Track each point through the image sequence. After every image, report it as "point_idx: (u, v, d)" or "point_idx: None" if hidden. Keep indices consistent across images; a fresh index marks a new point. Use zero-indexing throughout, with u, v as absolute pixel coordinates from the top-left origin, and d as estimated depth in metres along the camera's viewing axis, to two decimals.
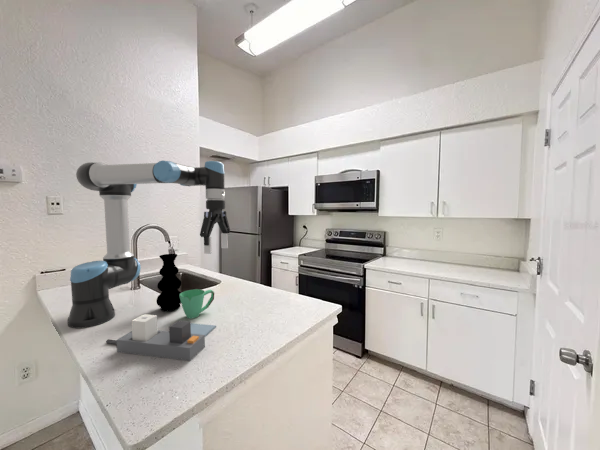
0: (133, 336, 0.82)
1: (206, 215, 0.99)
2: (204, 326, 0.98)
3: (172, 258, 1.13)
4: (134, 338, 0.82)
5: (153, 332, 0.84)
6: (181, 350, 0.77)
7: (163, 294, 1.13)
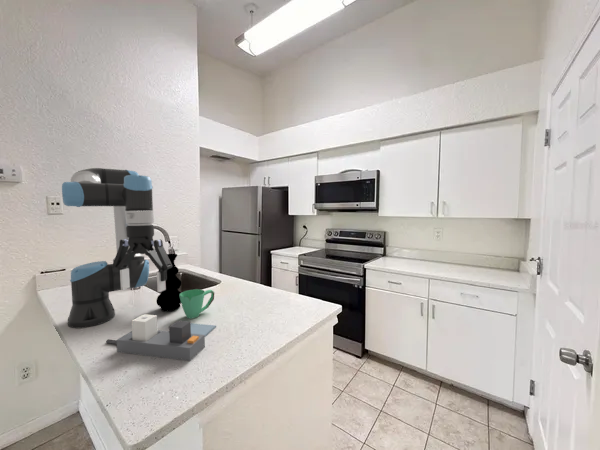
0: (133, 336, 0.82)
1: None
2: (204, 326, 0.98)
3: (172, 258, 1.13)
4: (134, 338, 0.82)
5: (153, 332, 0.84)
6: (181, 350, 0.77)
7: (163, 294, 1.13)
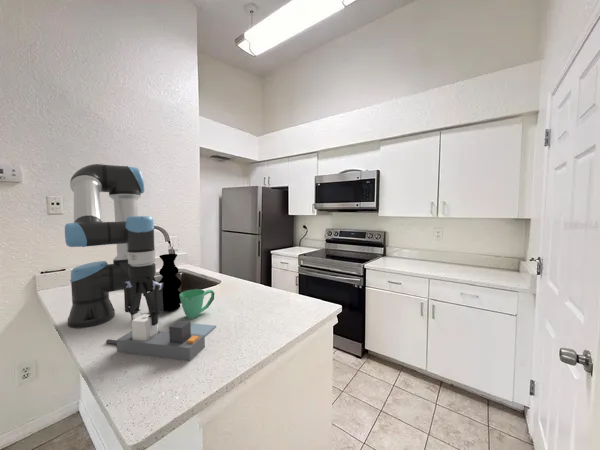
0: (133, 336, 0.82)
1: None
2: (204, 326, 0.98)
3: (172, 258, 1.13)
4: (134, 338, 0.82)
5: None
6: (181, 350, 0.77)
7: (163, 294, 1.13)
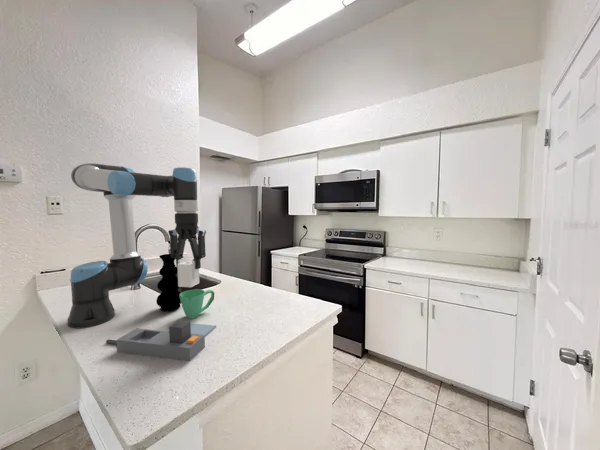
0: (178, 278, 0.90)
1: None
2: (204, 326, 0.98)
3: (172, 258, 1.13)
4: (179, 280, 0.90)
5: None
6: (181, 350, 0.77)
7: (163, 294, 1.13)
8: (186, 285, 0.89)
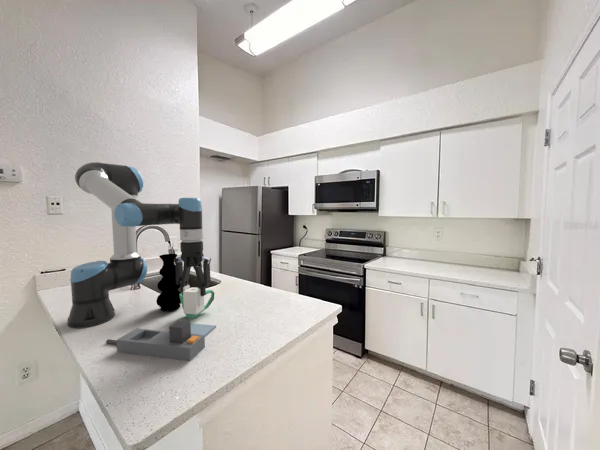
0: (184, 305, 0.91)
1: None
2: (204, 326, 0.98)
3: (172, 258, 1.13)
4: (185, 307, 0.91)
5: None
6: (181, 350, 0.77)
7: (163, 294, 1.13)
8: (192, 312, 0.91)
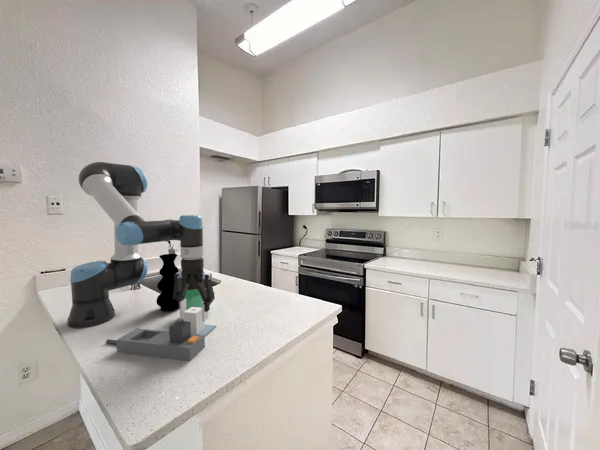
0: None
1: None
2: (204, 326, 0.98)
3: (172, 258, 1.13)
4: None
5: (201, 323, 0.94)
6: (181, 350, 0.77)
7: (163, 294, 1.13)
8: (192, 332, 0.92)
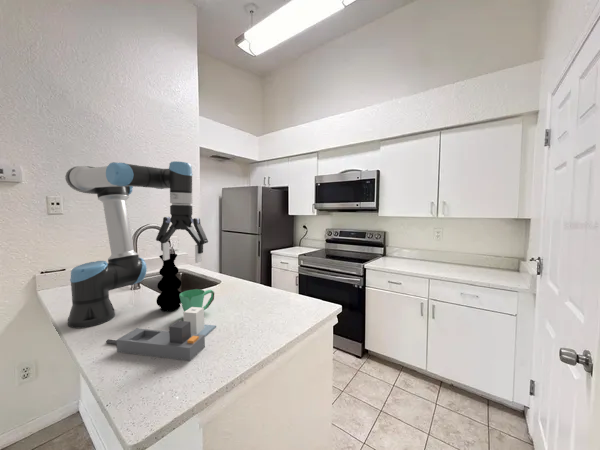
0: None
1: None
2: (204, 326, 0.98)
3: (172, 258, 1.13)
4: None
5: (201, 323, 0.94)
6: (181, 350, 0.77)
7: (163, 294, 1.13)
8: (192, 332, 0.92)
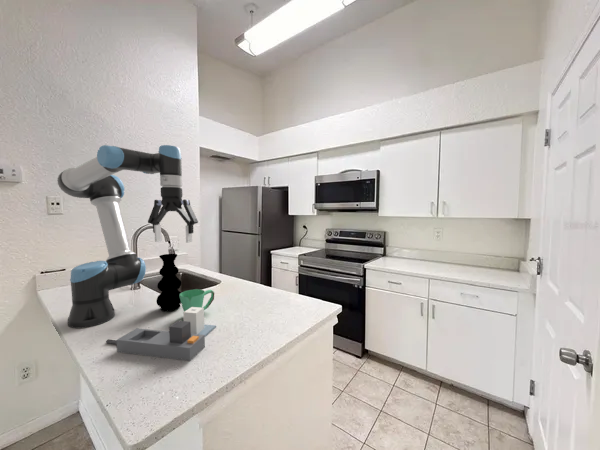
0: None
1: None
2: (204, 326, 0.98)
3: (172, 258, 1.13)
4: None
5: (201, 323, 0.94)
6: (181, 350, 0.77)
7: (163, 294, 1.13)
8: (192, 332, 0.92)
